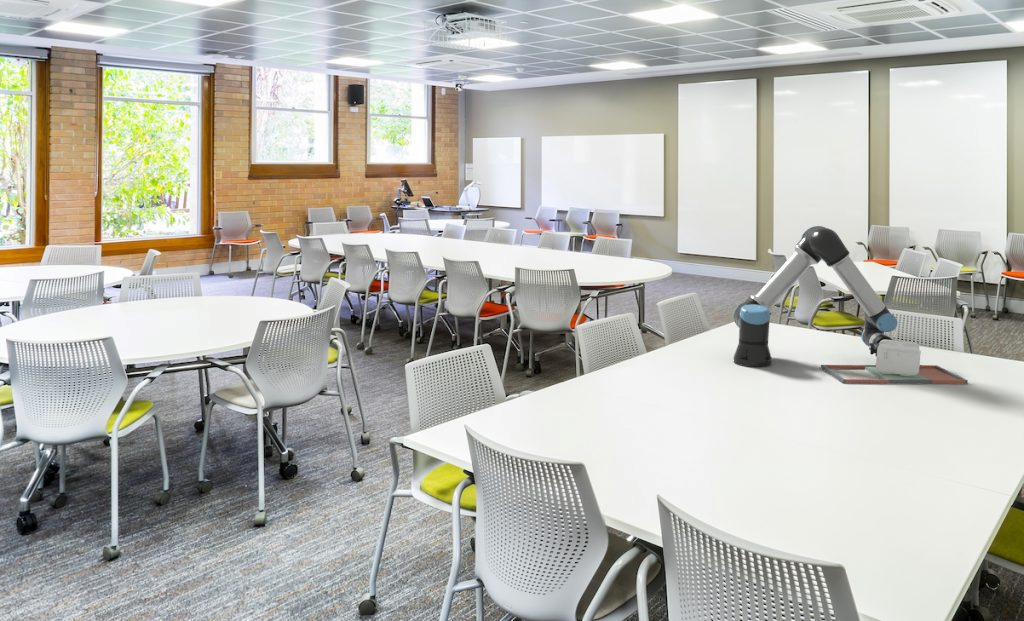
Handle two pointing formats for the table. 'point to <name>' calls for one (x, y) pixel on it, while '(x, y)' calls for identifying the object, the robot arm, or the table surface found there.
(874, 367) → the divided tray
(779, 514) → the table surface
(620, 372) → the table surface
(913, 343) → the cable organizer
